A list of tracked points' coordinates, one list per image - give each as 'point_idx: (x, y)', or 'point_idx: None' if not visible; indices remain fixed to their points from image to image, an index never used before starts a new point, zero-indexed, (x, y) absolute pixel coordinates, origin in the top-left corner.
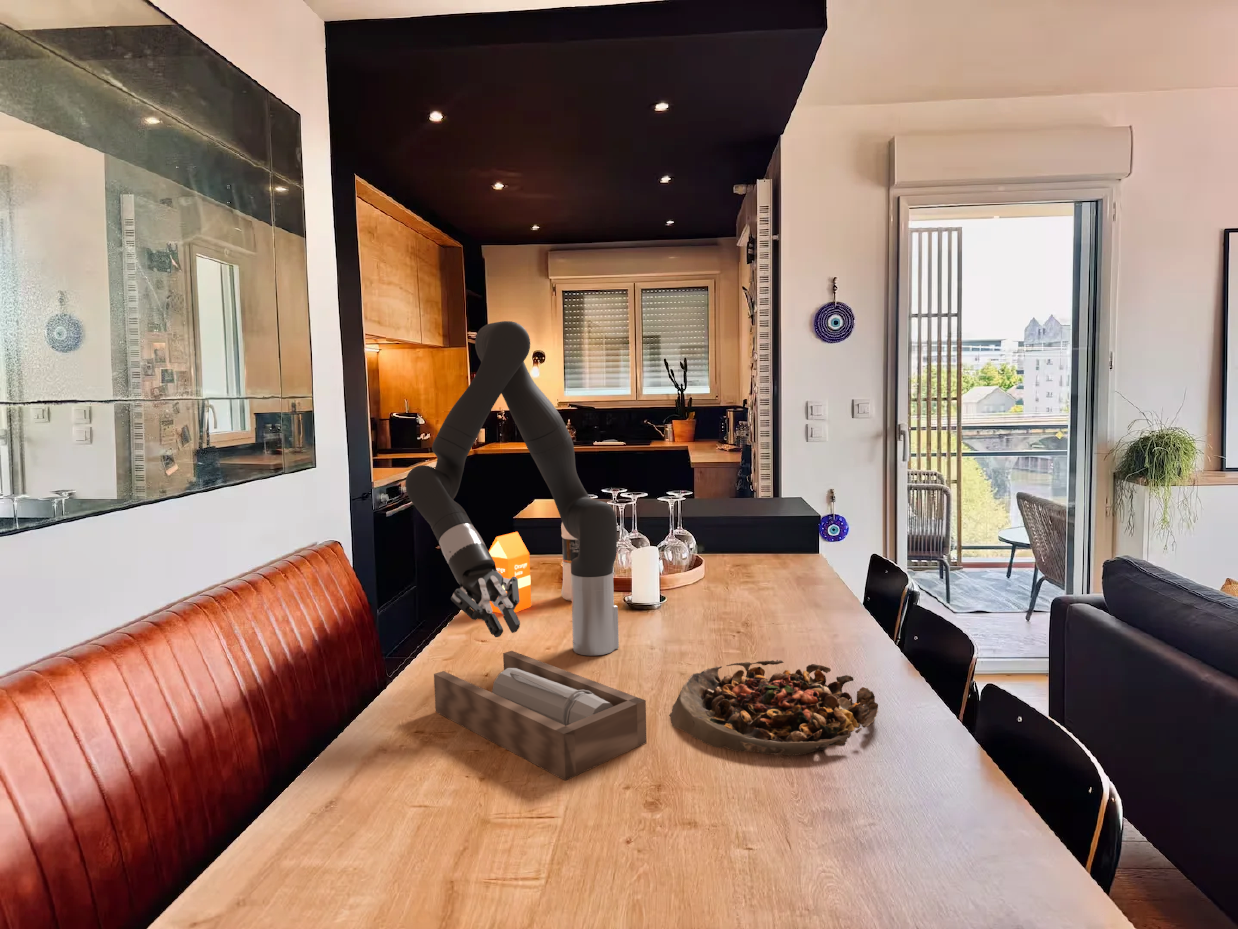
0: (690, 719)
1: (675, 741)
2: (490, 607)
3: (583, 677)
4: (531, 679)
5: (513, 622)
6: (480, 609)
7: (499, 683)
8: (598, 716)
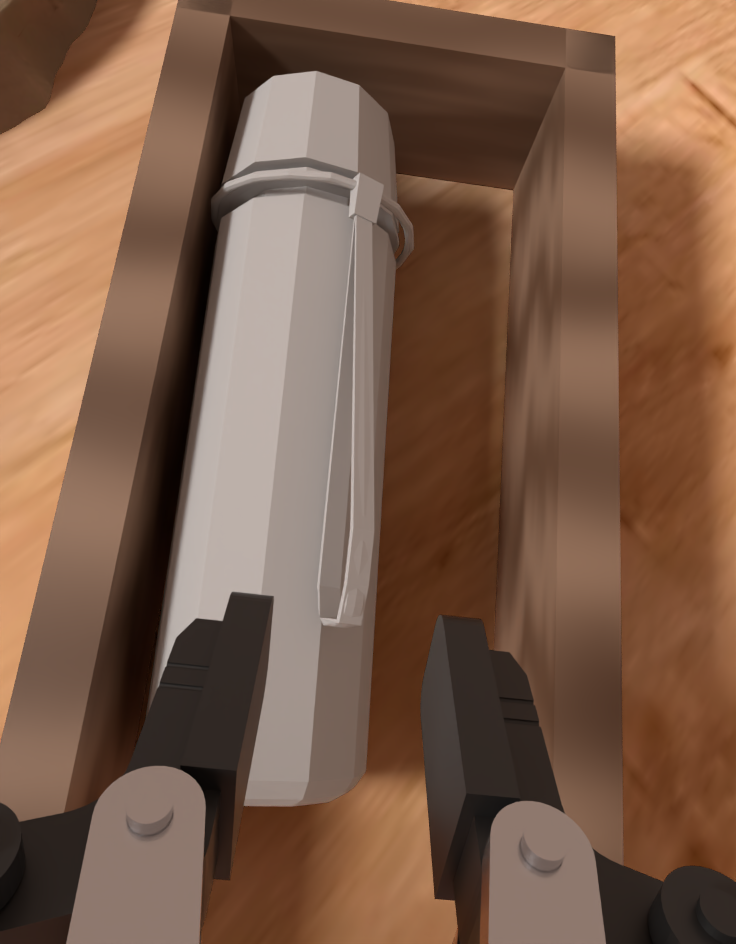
0: (36, 8)
1: (147, 51)
2: (504, 890)
3: (106, 309)
4: (366, 430)
5: (263, 647)
6: (705, 896)
7: (354, 727)
8: (425, 23)
